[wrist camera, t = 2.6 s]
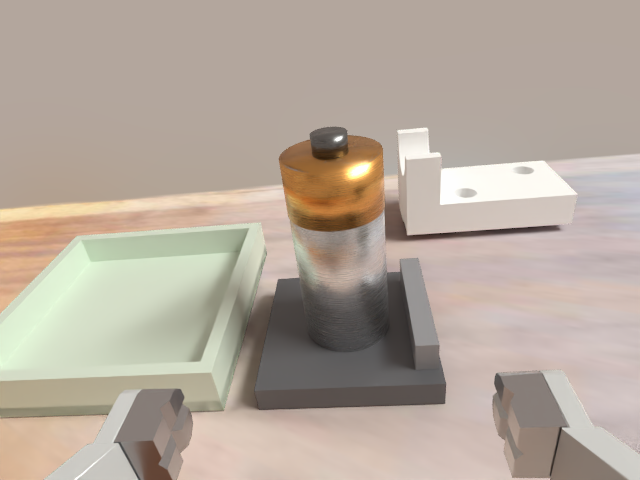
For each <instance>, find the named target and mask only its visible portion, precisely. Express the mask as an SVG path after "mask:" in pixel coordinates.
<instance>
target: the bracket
mask: <svg viewBox="0 0 640 480" xmlns="http://www.w3.org/2000/svg"><path fill="white" fill-rule="evenodd" d="M397 143H398V144H397V145H398V146H397V147H398V191H399V207H400V211H401V216H402V220H403V222H404V223H405V227H406V232H407V235H418V234H433V233H447V232H462V231H476V230H491V229H505V228H519V227H534V226H548V225H563V224H572V221H573V216H574V211H575V206H576V201H577V196H578V194H577V193H576V192H575V191H574V190H573V189H572V188H571V187H570V186H569V185H568V184H567V183H566V182H565V181H564V180H563V179H562V178H561V177H560V176H559V175H558V174H557V173H556V172H555V171H554V170H552V169H551V168H550V167H549V166H548V165H547V164H546V163H545V162H544V161H531V162H519V163H507V164H495V165H484V166H471V167H459V168H446V169H441V158H442V157H441V155H440V153H439V152H438V153H430V152H429V131H428V129H427V128H418V129H407V130H398V131H397Z"/></svg>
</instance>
